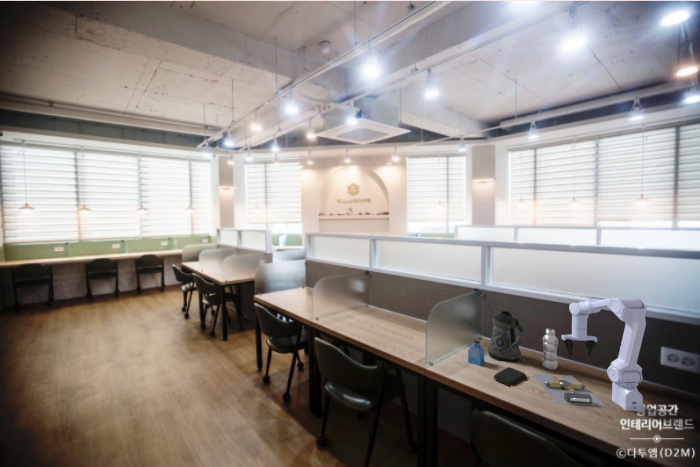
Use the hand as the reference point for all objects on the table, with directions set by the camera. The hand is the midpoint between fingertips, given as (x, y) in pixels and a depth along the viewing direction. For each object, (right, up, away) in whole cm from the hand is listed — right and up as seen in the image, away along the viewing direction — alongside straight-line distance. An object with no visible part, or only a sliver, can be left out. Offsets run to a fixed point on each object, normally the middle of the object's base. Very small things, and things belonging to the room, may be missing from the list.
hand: (578, 355), depth 146 cm
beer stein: (-25, -9, +20) cm, 33 cm away
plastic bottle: (-10, -10, +7) cm, 15 cm away
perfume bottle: (-44, -10, +15) cm, 47 cm away
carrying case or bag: (-35, -11, -3) cm, 36 cm away
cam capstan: (-16, -10, -12) cm, 22 cm away
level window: (-17, -10, -22) cm, 30 cm away
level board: (-16, -11, -12) cm, 23 cm away
